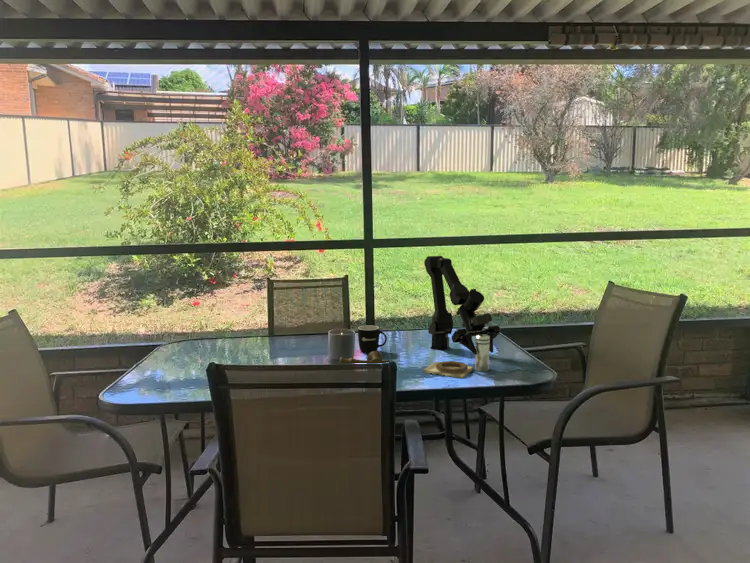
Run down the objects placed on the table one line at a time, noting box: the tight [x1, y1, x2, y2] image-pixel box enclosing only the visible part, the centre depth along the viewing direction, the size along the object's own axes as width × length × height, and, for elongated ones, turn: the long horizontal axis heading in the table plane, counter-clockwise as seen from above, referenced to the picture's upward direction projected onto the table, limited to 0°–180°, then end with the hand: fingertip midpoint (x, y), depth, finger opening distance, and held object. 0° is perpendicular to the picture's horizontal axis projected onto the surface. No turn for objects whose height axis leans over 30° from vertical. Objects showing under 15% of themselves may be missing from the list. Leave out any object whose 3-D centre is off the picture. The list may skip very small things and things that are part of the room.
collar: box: [423, 360, 474, 379], centre depth 222 cm, size 15×12×2 cm
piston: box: [474, 334, 490, 372], centre depth 223 cm, size 5×5×13 cm
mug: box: [357, 324, 388, 354], centre depth 248 cm, size 12×9×10 cm
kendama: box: [339, 350, 393, 364], centre depth 224 cm, size 6×10×20 cm
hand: (484, 353), depth 221 cm, fingers open, 7 cm apart
